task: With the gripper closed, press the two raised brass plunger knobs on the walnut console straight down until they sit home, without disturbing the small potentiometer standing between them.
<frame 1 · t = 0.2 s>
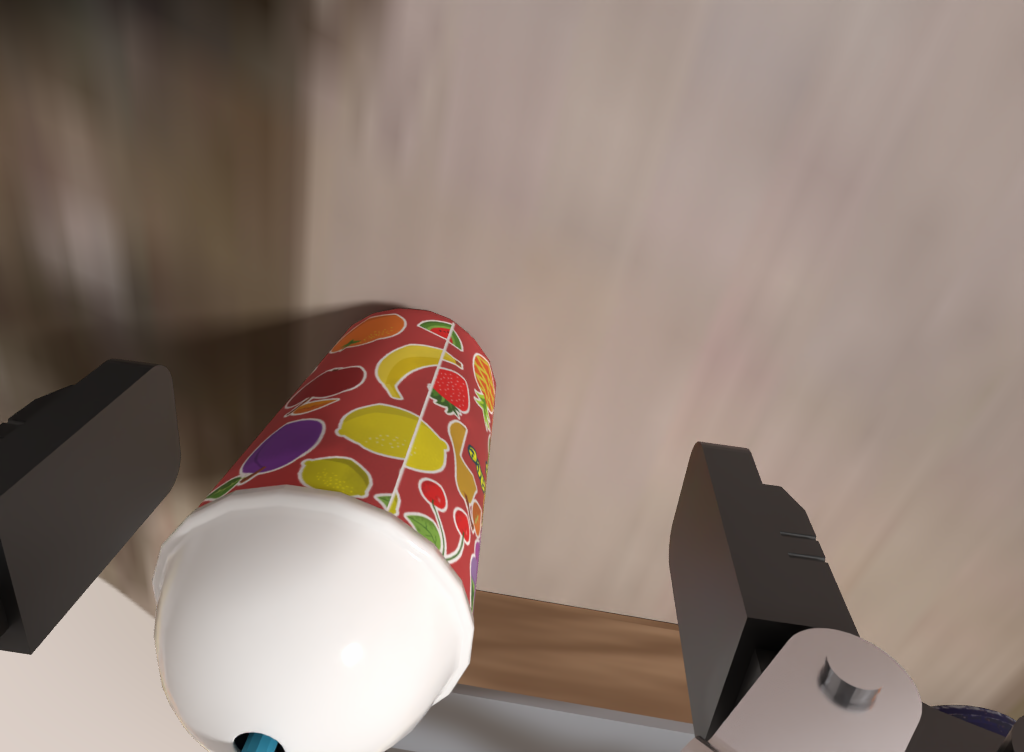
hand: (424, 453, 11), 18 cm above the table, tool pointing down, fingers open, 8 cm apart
mount: (522, 680, 40), on the table
smoothie: (420, 367, 31), on the table
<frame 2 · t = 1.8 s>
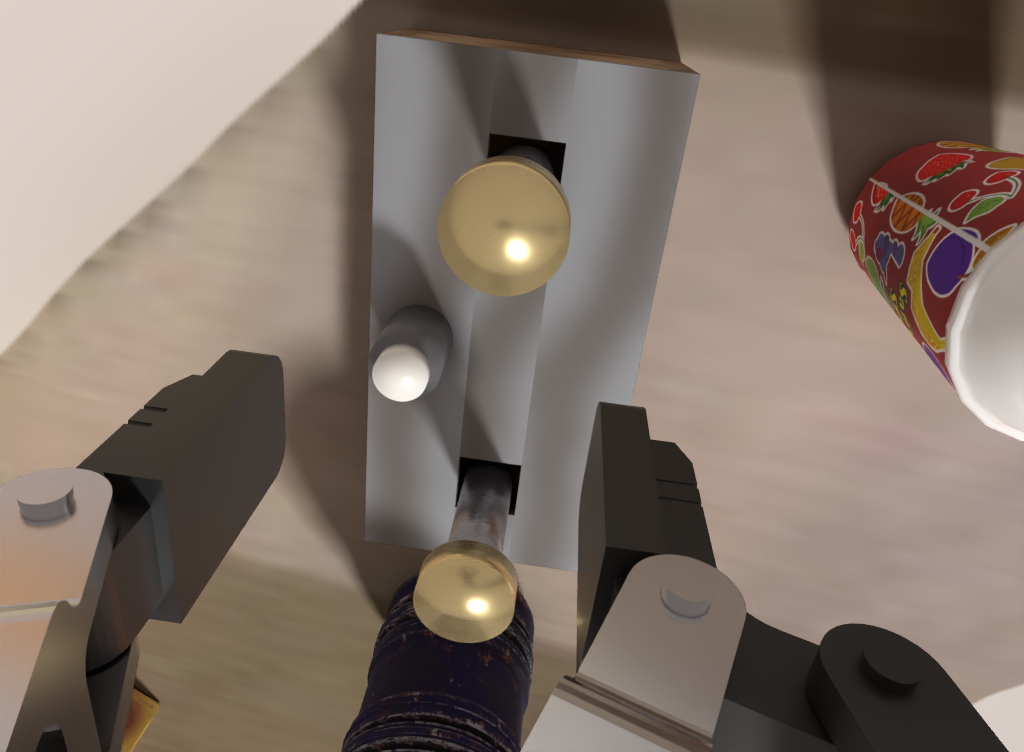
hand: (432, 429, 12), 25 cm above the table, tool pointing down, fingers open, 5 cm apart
potentiometer: (419, 336, 33), point 6 cm above the table, touching mount
mount: (515, 299, 38), on the table
knob a: (516, 197, 26), point 9 cm above the table, slide at 4.0 cm
storage jar: (461, 621, 49), on the table
knob b: (478, 530, 33), point 9 cm above the table, slide at 4.0 cm
smoothie: (914, 210, 34), on the table
candy box: (100, 678, 55), on the table
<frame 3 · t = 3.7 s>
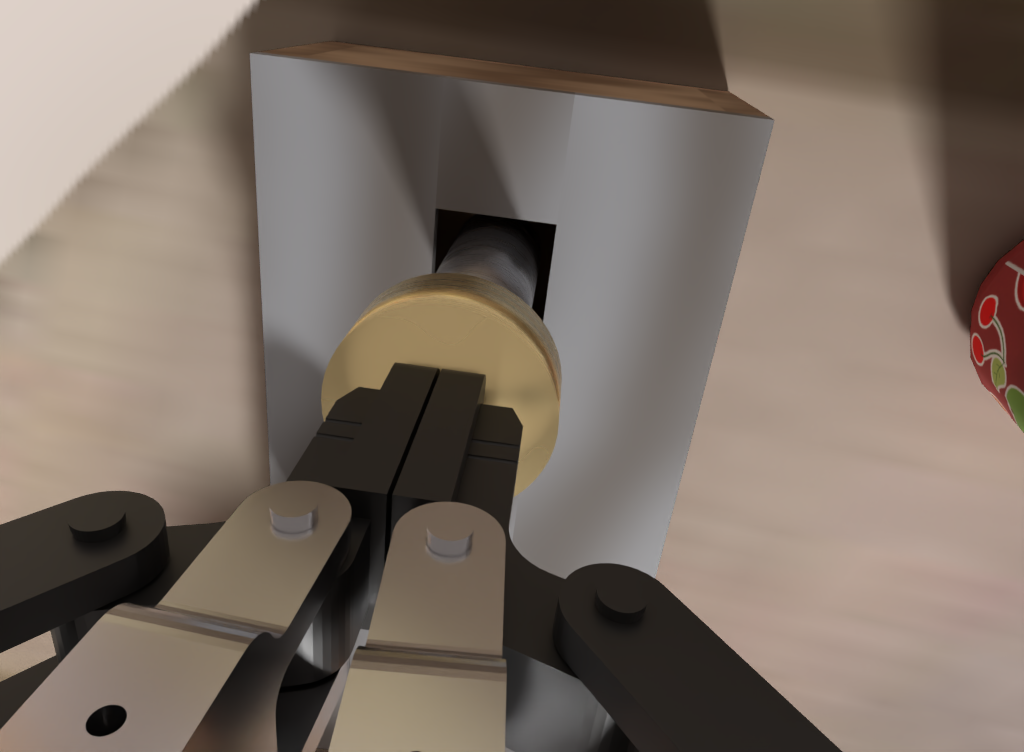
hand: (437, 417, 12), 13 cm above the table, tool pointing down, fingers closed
mount: (489, 412, 28), on the table
knob a: (475, 313, 16), point 9 cm above the table, slide at 3.3 cm, touching gripper
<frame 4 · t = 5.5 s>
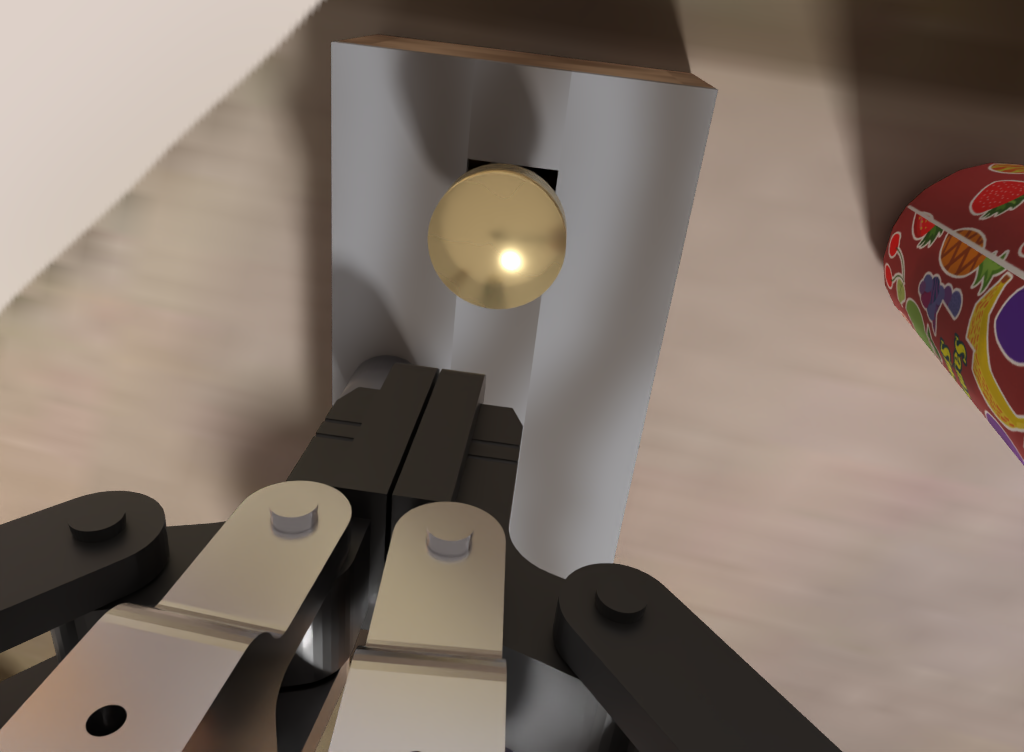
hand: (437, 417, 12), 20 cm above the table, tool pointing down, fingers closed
potentiometer: (390, 390, 28), point 6 cm above the table, touching mount
mount: (501, 339, 34), on the table
knob a: (509, 205, 25), point 5 cm above the table, slide at 0.0 cm
smoothie: (957, 240, 30), on the table
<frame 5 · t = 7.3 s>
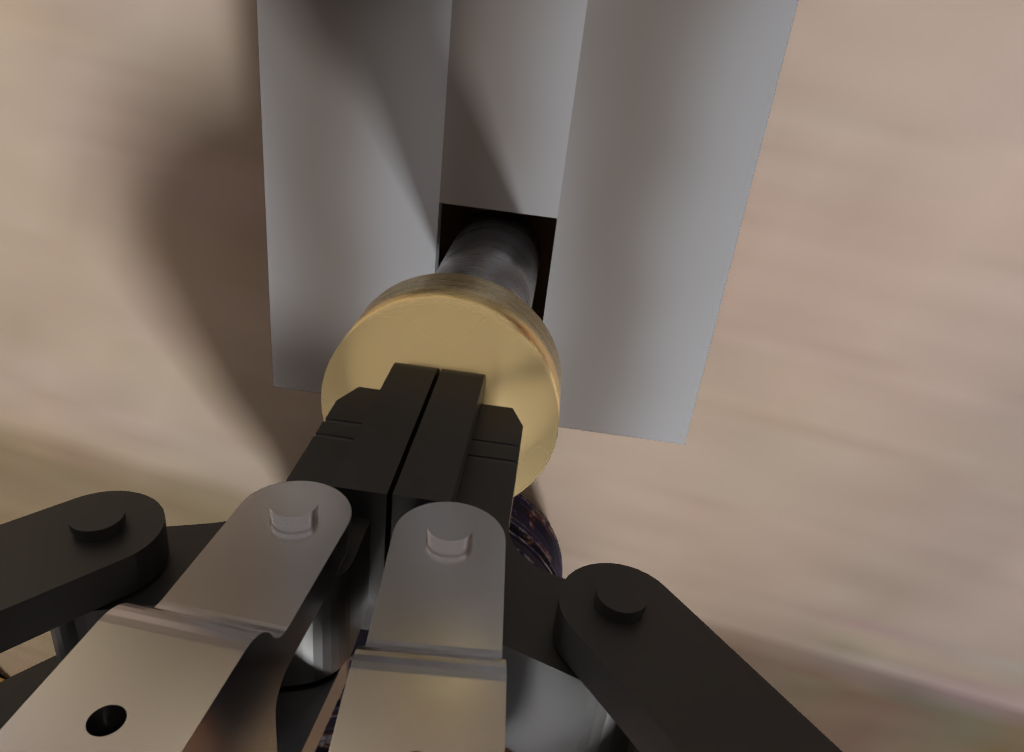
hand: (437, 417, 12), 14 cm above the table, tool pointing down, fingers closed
storage jar: (451, 559, 32), on the table
knob b: (475, 313, 16), point 9 cm above the table, slide at 3.8 cm, touching gripper
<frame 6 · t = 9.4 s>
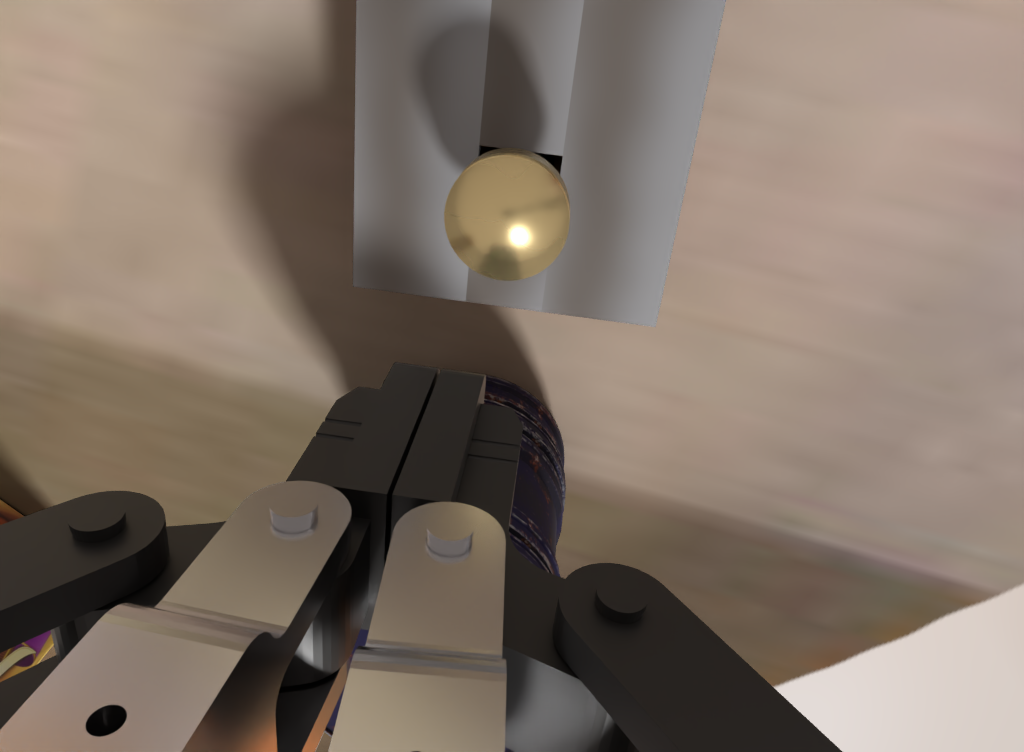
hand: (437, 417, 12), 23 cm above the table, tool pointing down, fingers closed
storage jar: (474, 452, 40), on the table
knob b: (517, 188, 28), point 5 cm above the table, slide at 0.0 cm
candy box: (38, 544, 45), on the table
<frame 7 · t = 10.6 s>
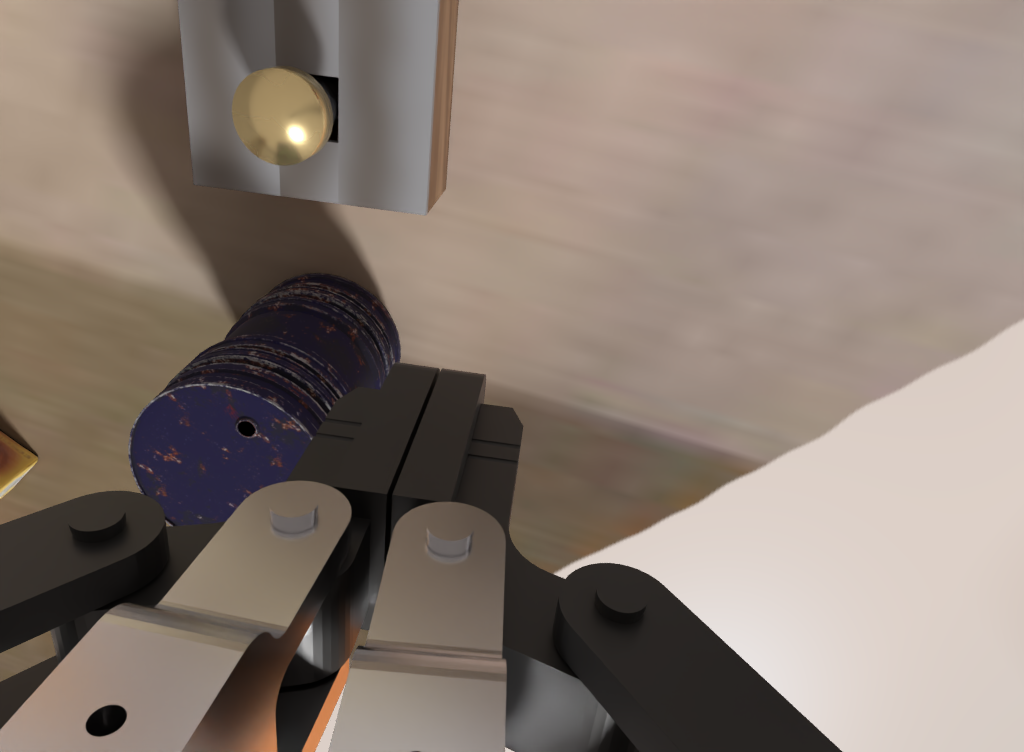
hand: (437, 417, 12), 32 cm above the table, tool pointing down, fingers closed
storage jar: (328, 342, 48), on the table
knob b: (312, 105, 36), point 5 cm above the table, slide at 0.0 cm
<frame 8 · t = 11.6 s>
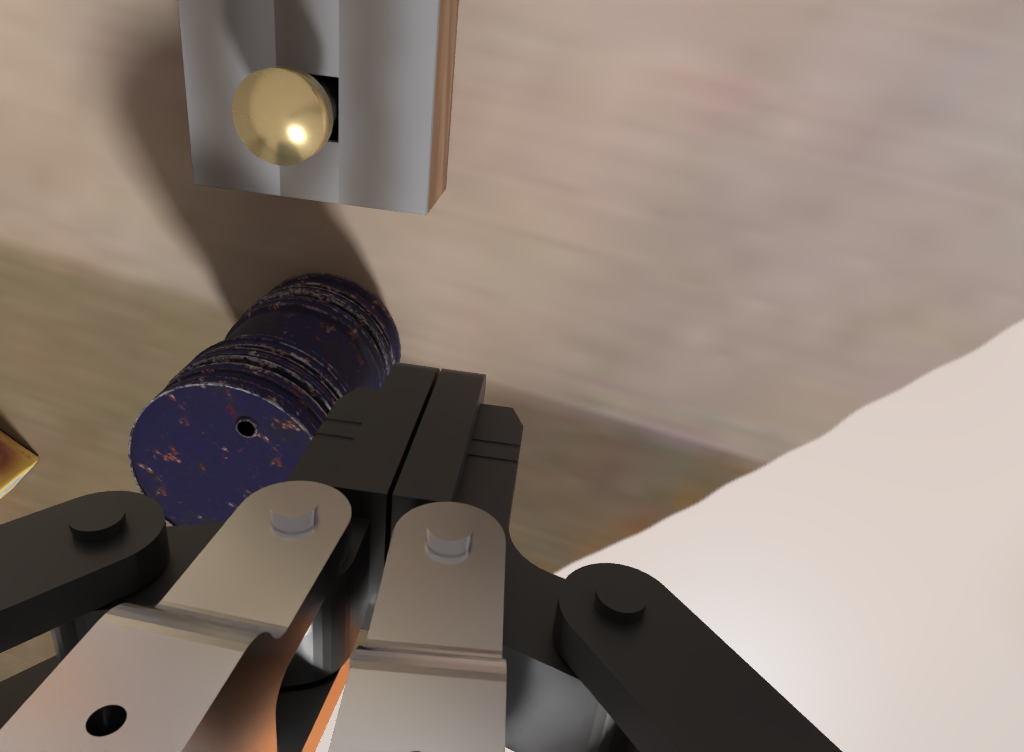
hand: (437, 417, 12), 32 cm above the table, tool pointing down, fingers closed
storage jar: (328, 342, 48), on the table
knob b: (312, 105, 36), point 5 cm above the table, slide at 0.0 cm
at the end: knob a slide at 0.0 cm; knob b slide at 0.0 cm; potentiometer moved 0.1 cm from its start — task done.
